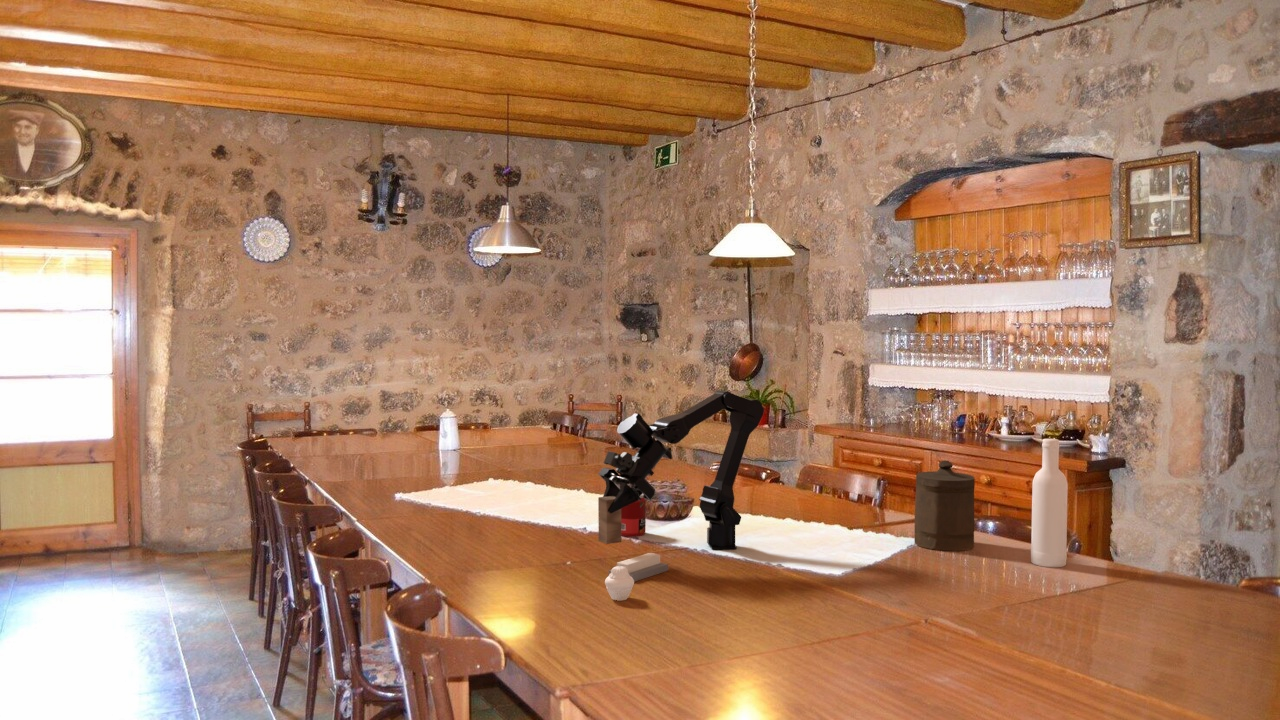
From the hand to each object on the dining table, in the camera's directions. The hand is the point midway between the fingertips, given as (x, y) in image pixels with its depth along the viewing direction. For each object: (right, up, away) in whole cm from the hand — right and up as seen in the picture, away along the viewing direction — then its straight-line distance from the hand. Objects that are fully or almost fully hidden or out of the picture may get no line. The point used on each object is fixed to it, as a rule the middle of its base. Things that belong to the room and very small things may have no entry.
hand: (604, 510), depth 228 cm
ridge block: (+8, -13, -8) cm, 17 cm away
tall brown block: (+1, -8, +1) cm, 8 cm away
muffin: (+4, -14, -27) cm, 31 cm away
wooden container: (+88, -13, +22) cm, 91 cm away
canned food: (+6, -12, +33) cm, 36 cm away
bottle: (+107, -13, +3) cm, 107 cm away
